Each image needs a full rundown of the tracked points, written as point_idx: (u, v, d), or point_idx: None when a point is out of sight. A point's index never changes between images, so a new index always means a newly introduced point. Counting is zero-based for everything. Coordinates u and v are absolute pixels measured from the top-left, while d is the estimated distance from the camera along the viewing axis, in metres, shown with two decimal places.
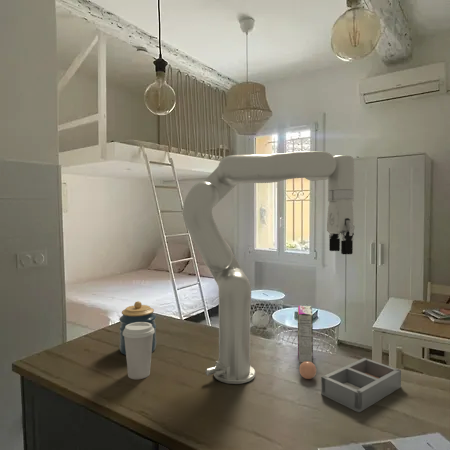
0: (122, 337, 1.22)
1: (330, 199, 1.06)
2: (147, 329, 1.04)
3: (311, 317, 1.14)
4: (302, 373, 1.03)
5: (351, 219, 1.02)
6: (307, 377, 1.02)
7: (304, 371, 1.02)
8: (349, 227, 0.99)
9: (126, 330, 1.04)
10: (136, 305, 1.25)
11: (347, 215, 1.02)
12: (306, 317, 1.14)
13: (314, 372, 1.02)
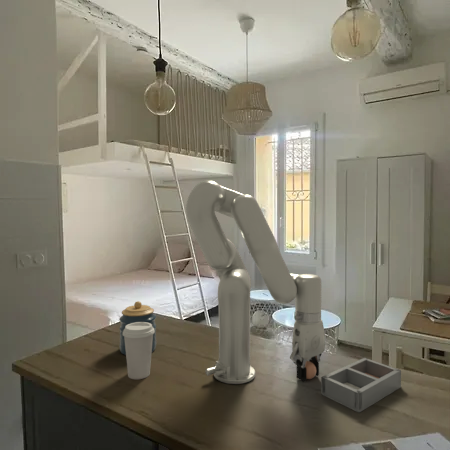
0: (122, 337, 1.22)
1: (320, 321, 1.02)
2: (147, 329, 1.04)
3: None
4: None
5: None
6: (307, 377, 1.02)
7: None
8: None
9: (126, 330, 1.04)
10: (136, 305, 1.25)
11: None
12: None
13: (314, 372, 1.02)
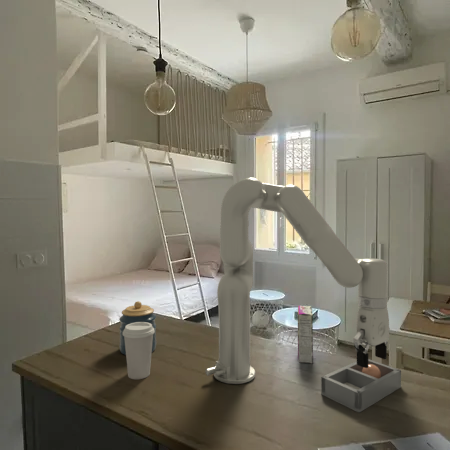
0: (122, 337, 1.22)
1: (386, 307, 0.97)
2: (147, 329, 1.04)
3: (311, 317, 1.14)
4: None
5: None
6: None
7: None
8: None
9: (126, 330, 1.04)
10: (136, 305, 1.25)
11: None
12: (306, 317, 1.14)
13: (379, 376, 0.98)
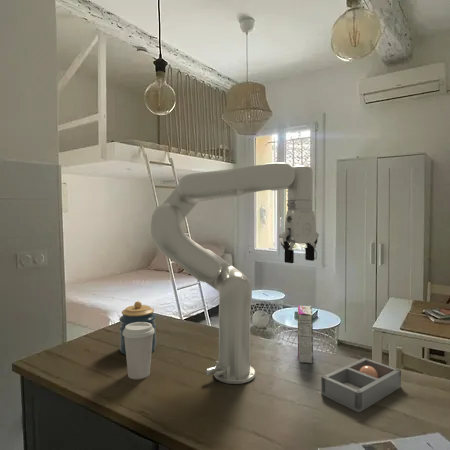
0: (122, 337, 1.22)
1: (311, 209, 1.06)
2: (147, 329, 1.04)
3: (311, 317, 1.14)
4: None
5: None
6: None
7: None
8: (317, 235, 1.13)
9: (126, 330, 1.04)
10: (136, 305, 1.25)
11: None
12: (306, 317, 1.14)
13: None
